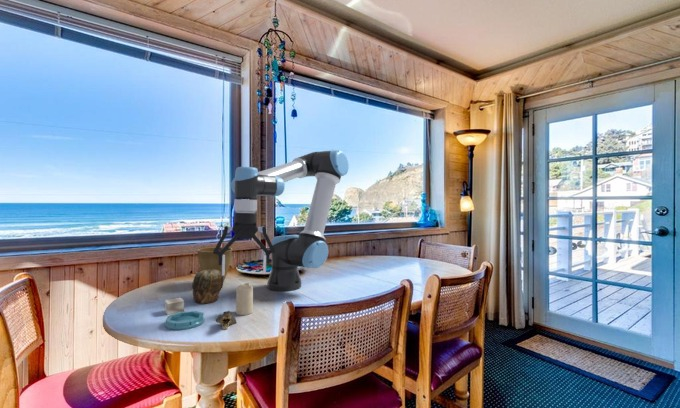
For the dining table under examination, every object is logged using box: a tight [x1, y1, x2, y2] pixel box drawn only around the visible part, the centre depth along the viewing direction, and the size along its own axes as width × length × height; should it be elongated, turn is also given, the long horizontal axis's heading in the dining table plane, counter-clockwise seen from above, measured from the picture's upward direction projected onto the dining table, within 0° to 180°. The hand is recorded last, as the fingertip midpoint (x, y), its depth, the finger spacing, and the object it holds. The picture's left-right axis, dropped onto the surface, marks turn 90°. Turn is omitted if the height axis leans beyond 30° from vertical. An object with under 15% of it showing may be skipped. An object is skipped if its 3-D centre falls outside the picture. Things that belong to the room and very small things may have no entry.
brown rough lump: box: [191, 269, 224, 304], centre depth 125 cm, size 11×11×12 cm
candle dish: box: [164, 310, 205, 331], centre depth 103 cm, size 11×11×2 cm
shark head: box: [215, 310, 237, 331], centre depth 100 cm, size 8×6×7 cm
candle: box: [235, 282, 254, 316], centre depth 113 cm, size 6×6×10 cm
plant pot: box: [196, 246, 233, 283], centre depth 149 cm, size 15×15×16 cm
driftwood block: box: [164, 297, 185, 316], centre depth 113 cm, size 5×5×4 cm
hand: (244, 273), depth 113 cm, fingers open, 13 cm apart
